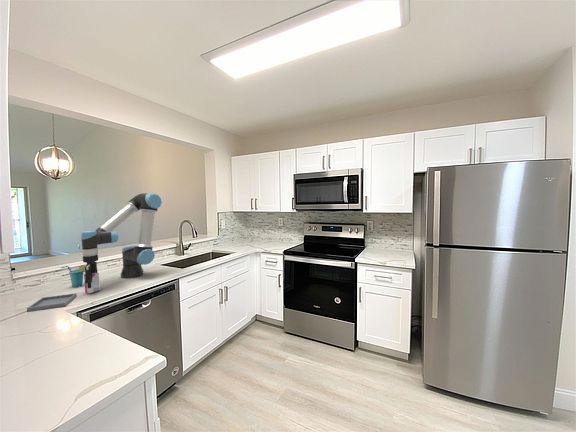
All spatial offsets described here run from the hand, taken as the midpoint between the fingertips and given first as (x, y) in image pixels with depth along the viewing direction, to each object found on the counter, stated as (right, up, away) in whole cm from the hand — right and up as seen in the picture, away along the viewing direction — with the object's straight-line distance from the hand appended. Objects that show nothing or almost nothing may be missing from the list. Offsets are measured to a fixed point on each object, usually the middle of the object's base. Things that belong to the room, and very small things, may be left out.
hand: (92, 290), depth 154 cm
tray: (-8, -2, -18) cm, 19 cm away
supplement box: (0, -1, 0) cm, 1 cm away
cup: (-20, -1, +11) cm, 23 cm away
